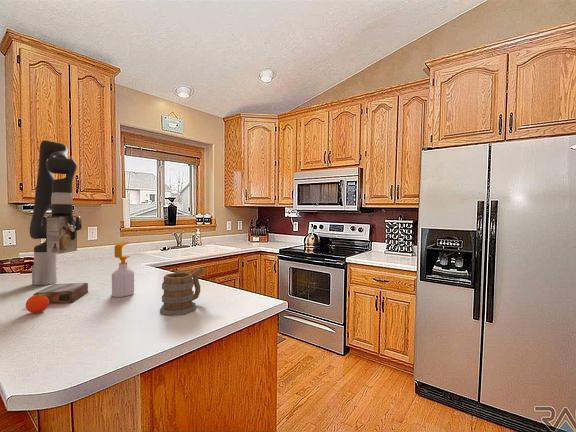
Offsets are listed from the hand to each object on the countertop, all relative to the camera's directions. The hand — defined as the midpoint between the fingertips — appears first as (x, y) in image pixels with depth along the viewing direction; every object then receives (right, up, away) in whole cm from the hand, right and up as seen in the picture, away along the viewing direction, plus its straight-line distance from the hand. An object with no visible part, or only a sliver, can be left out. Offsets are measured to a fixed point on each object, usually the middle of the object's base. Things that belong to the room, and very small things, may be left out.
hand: (62, 240), depth 130 cm
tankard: (+58, -27, -11) cm, 65 cm away
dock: (0, -26, 0) cm, 26 cm away
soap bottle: (+23, -26, +7) cm, 36 cm away
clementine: (+4, -27, -17) cm, 32 cm away
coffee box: (0, -6, 0) cm, 6 cm away
